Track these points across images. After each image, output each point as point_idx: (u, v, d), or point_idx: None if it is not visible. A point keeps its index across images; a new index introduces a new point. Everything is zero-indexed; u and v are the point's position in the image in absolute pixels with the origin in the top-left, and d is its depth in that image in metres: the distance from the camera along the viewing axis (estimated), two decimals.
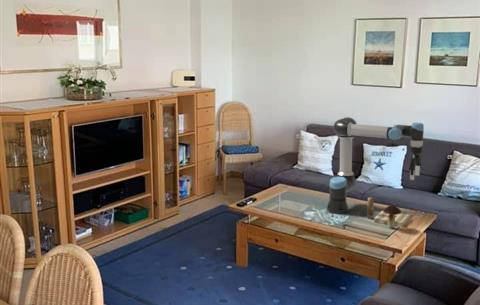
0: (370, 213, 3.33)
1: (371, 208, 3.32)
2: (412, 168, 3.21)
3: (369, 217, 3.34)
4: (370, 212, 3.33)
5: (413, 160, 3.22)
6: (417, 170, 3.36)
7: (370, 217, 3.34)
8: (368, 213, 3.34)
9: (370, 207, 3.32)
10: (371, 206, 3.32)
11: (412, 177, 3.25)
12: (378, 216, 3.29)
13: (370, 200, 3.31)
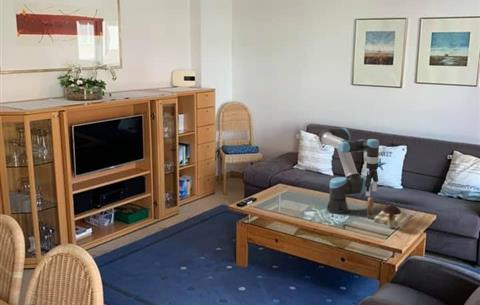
0: (370, 213, 3.33)
1: (371, 208, 3.32)
2: None
3: (369, 217, 3.34)
4: (370, 212, 3.33)
5: (368, 176, 3.23)
6: (374, 186, 3.37)
7: (370, 217, 3.34)
8: (368, 213, 3.34)
9: (370, 207, 3.32)
10: (371, 206, 3.32)
11: (368, 193, 3.26)
12: (378, 216, 3.29)
13: (370, 200, 3.31)
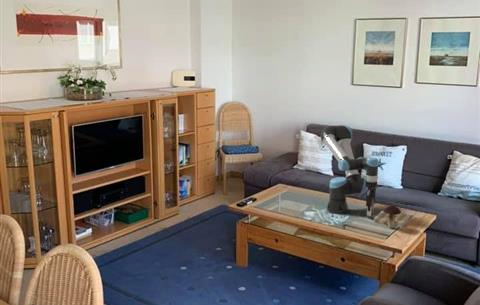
0: None
1: (371, 208, 3.32)
2: (368, 204, 3.29)
3: (369, 217, 3.34)
4: None
5: (368, 197, 3.27)
6: None
7: (370, 217, 3.34)
8: None
9: None
10: None
11: (369, 213, 3.32)
12: (378, 216, 3.29)
13: None
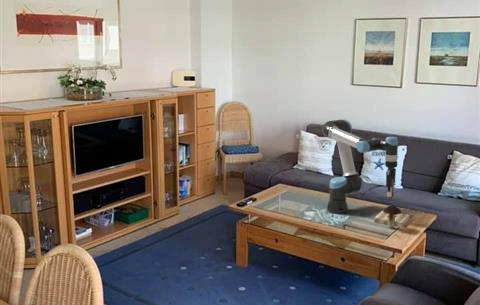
0: None
1: None
2: (389, 185, 3.20)
3: (389, 198, 3.25)
4: None
5: (388, 177, 3.19)
6: None
7: (390, 198, 3.25)
8: None
9: None
10: None
11: (389, 194, 3.24)
12: (378, 216, 3.29)
13: None
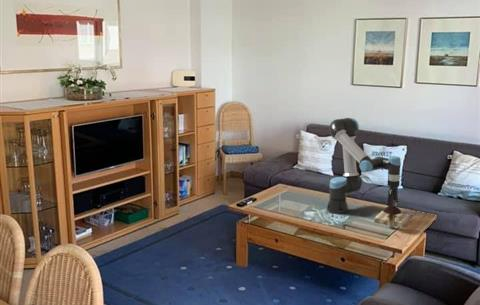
0: None
1: None
2: (390, 204, 3.21)
3: None
4: None
5: (390, 196, 3.20)
6: None
7: None
8: None
9: None
10: None
11: None
12: (378, 216, 3.29)
13: None
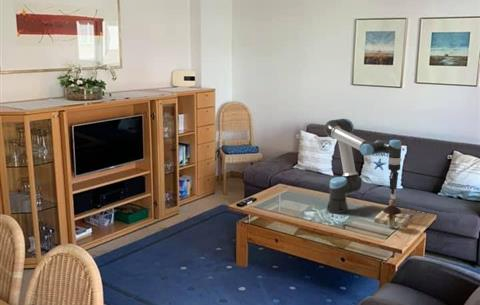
0: None
1: None
2: None
3: None
4: None
5: (392, 181, 3.20)
6: None
7: None
8: None
9: None
10: None
11: (393, 196, 3.26)
12: (378, 216, 3.29)
13: (391, 202, 3.25)
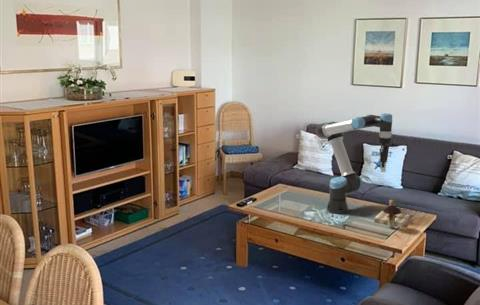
0: None
1: None
2: (383, 160, 3.27)
3: None
4: None
5: (382, 154, 3.25)
6: None
7: None
8: None
9: None
10: None
11: (383, 169, 3.31)
12: (378, 216, 3.29)
13: (391, 202, 3.25)
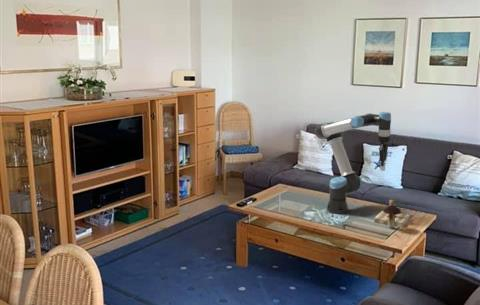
0: None
1: None
2: (382, 159, 3.27)
3: None
4: None
5: (381, 152, 3.25)
6: None
7: None
8: None
9: None
10: None
11: (382, 168, 3.31)
12: (378, 216, 3.29)
13: (391, 202, 3.25)
